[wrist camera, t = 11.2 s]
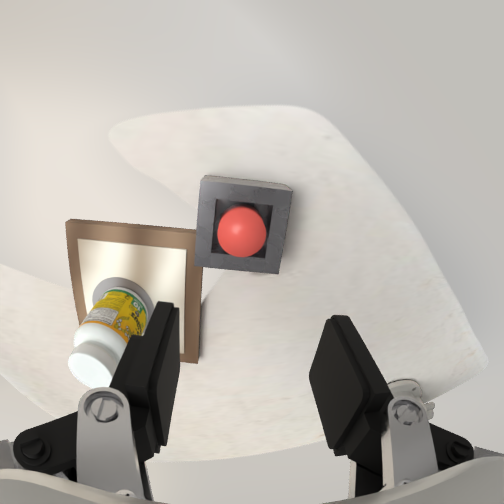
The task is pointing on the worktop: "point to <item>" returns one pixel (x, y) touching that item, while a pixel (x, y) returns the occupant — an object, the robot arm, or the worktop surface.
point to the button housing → (251, 193)
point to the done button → (241, 230)
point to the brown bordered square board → (138, 270)
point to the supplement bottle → (106, 336)
